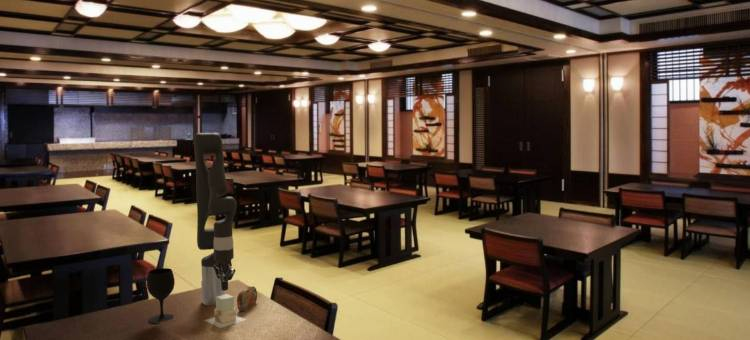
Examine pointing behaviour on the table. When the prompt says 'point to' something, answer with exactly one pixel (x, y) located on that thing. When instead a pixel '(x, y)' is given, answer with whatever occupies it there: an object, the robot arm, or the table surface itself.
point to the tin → (246, 298)
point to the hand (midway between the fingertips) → (224, 290)
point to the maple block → (225, 316)
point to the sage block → (224, 302)
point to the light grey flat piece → (220, 325)
